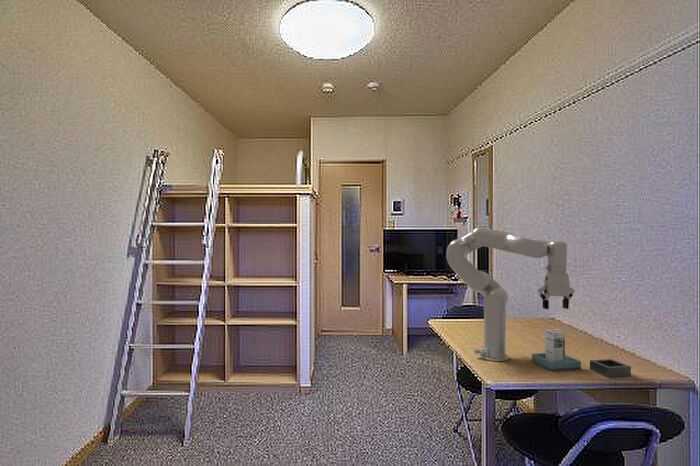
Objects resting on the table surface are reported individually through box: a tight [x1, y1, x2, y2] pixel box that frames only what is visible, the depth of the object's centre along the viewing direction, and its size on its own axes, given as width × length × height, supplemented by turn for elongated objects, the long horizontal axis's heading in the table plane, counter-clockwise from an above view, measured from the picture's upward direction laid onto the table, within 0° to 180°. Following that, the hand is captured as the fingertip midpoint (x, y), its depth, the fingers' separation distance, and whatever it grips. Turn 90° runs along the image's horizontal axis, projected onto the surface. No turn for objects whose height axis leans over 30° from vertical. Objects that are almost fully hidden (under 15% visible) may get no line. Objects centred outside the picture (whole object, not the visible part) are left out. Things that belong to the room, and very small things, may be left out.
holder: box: [589, 358, 632, 379], centre depth 189 cm, size 10×10×4 cm
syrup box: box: [544, 328, 566, 362], centre depth 198 cm, size 6×6×14 cm
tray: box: [531, 352, 582, 372], centre depth 198 cm, size 14×14×4 cm
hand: (555, 308), depth 198 cm, fingers open, 9 cm apart
